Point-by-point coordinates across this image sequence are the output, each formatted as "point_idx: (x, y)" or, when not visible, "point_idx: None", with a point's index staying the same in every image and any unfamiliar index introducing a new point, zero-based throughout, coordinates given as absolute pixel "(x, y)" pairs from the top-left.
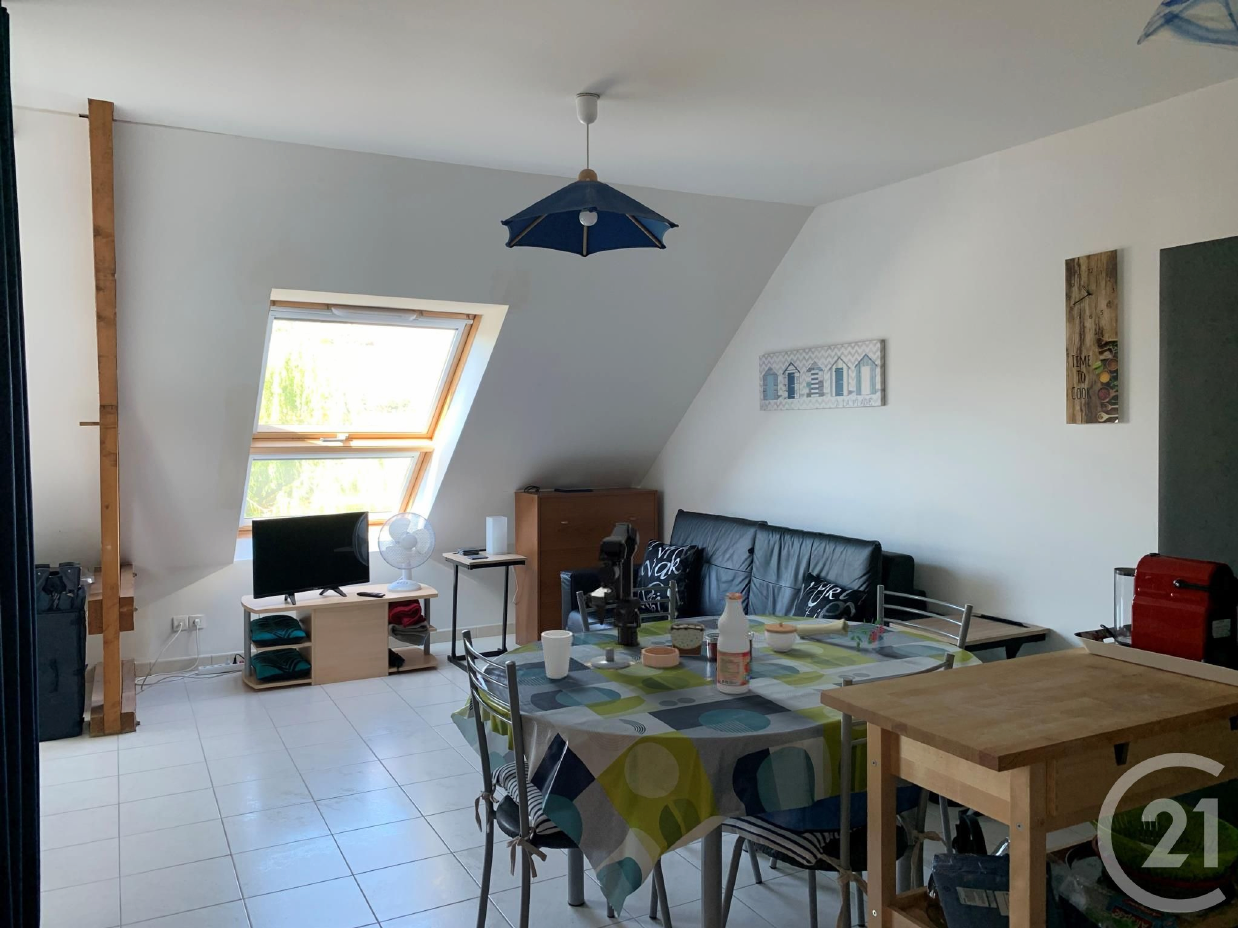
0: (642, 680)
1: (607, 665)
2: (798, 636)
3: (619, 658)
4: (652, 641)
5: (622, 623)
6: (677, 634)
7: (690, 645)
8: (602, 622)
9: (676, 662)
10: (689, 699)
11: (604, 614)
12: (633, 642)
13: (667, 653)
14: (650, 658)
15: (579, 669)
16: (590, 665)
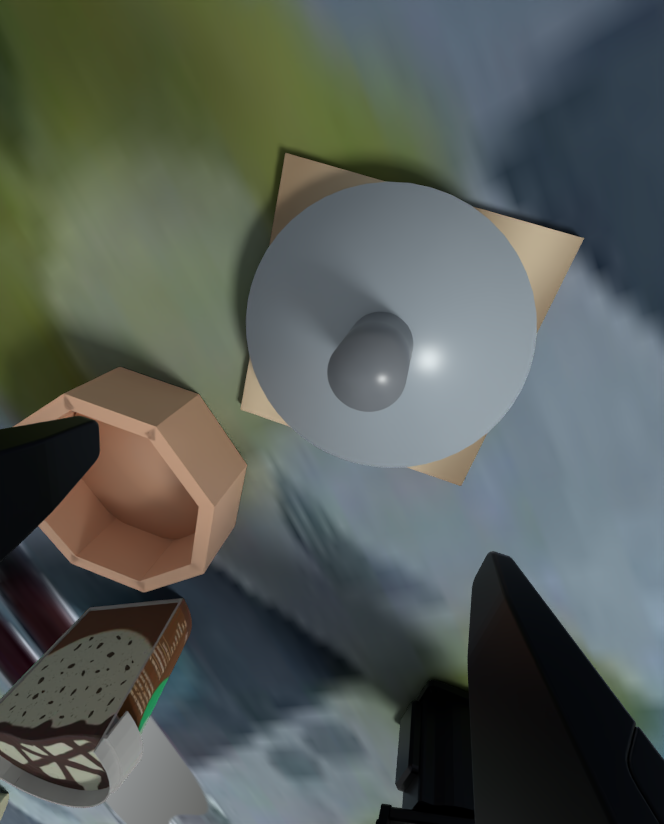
0: (9, 51)
1: (338, 202)
2: (4, 796)
3: (343, 417)
4: (366, 759)
5: (11, 440)
6: (102, 695)
7: (91, 644)
8: (481, 600)
9: None
10: None
11: (476, 777)
12: (411, 712)
13: (142, 550)
14: (113, 395)
15: (577, 87)
16: (507, 225)
